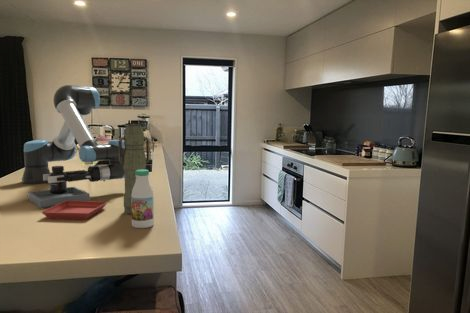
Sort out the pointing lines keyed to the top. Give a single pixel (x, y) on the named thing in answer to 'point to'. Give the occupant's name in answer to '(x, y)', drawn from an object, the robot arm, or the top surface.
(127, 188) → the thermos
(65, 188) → the supplement bottle
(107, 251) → the top surface
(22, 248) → the top surface
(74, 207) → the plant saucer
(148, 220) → the milk bottle
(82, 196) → the tray
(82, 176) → the robot arm
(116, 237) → the top surface
